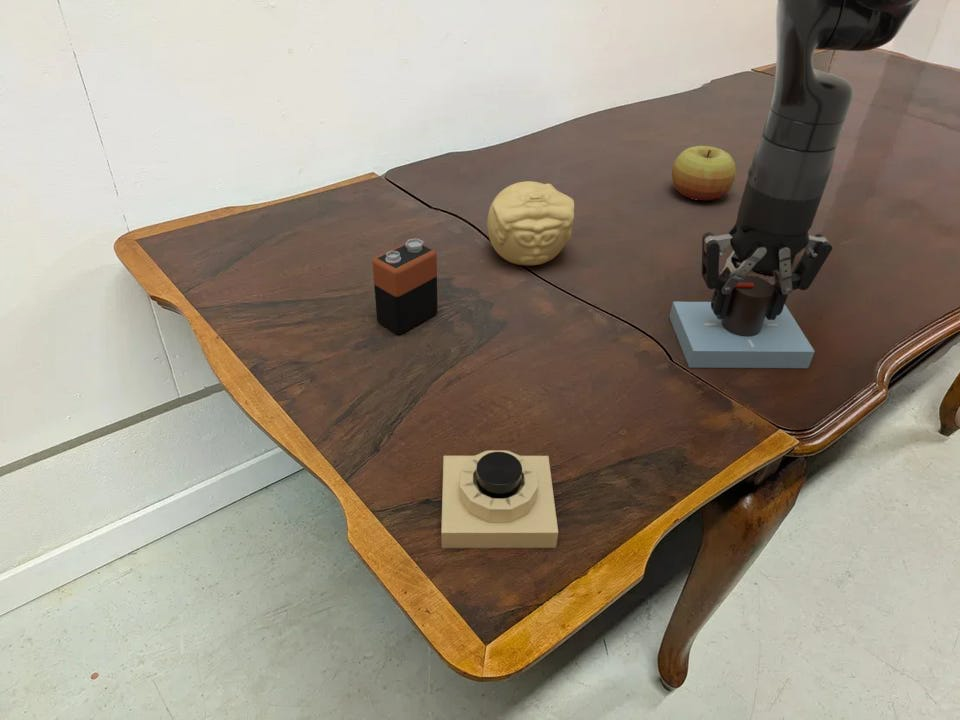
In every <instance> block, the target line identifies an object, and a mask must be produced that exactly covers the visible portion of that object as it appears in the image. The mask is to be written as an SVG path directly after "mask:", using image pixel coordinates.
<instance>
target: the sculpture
mask: <svg viewBox="0 0 960 720" xmlns="http://www.w3.org/2000/svg"><path fill="white" fill-rule="evenodd" d="M491 202H492V203H491V204H490V207H489V209H488V213H487V220H486V223H487V224H486V226H487V235H488V238H489V241H490V244H491V245H492V248H493V249H494V251H495V252H496V253H497V254H498V255H499V256H500V257H501V258H502V259H503V260H505V261H507V262H509V263H511V264H514V265H520V266H530V267H532V266H533V267H534V266H538V265H539V266H540V265H543V264H545V263H548V262H550V261H552V260H553V259H554V258H556V256H558V255H559V254H560V252H561V251H562V250H563V248H564V247H565V246H566V244H567V242H568V241H570V240H571V238H572V233H573V232H572V229H573V227H574V219H575V201H574V199H573V198H572V197H570V196H568V195H567V194H564V193H563V192H561V191H560V190H557V188H555V187H554V186H553V185H552V184H551V183H542V182H538V181H531V180H530V181H519V182H515V183H512V184H510V185H508V186H506V187H505V188H503V189H502V190H501V191H499V193H498V194H497V195H496V196H495V197H494V199H493V200H492V201H491Z"/></svg>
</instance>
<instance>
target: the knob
mask: <svg viewBox="0 0 960 720" xmlns="http://www.w3.org/2000/svg"><path fill="white" fill-rule="evenodd" d="M772 285H773V284H771V283H770V281H768V280H766V279H764V278H762V277H758V276H756V275H747V276H746V278H745V279H744V280H740V281H739V283H738V284H737V285H736V286H735V288H734V289H733V290H732V292H731V293H732V297H731V300H730V304H729V307H728V311H727V314H726V317H725V319H722V320H721V323H722V325H723V327H724V328H725V329H726V330H728V331H729V332H731V333H733V334H736V335H739V336H754V335H757V334H758V333H760V331H761V329H762V326H763V323H764V320H765V317H766V314H767V311H768V308H769V305H770V302H771V299H772V296H773V293H774V287H773V286H772Z"/></svg>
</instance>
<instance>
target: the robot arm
mask: <svg viewBox="0 0 960 720" xmlns="http://www.w3.org/2000/svg"><path fill="white" fill-rule="evenodd" d="M919 2H920V0H777V4H776V13H775V14H776V15H775V16H776V17H775V30H776V31H775V33H776V37H775V38H776V63H775V64H776V65H775V78H774V85H773V87H774V88H773V93H772V97H771V102H770V105H769V110H768V113H767V116H766V120H765V124H764V126H763V127H764V128H763V131H762V134H761V136H760V140H759V142H758V144H757V146H756V149H755V151H754V154H753V157H752V160H751V164H750V166H749V168H748V171H747V178H746V182H745V185H744V190H743V193H742V197H741V201H740V203H739V207H738V211H737V217H736V221H735V224H734V226H732V228H731V229H730V230H729V232H728V233H726V234H719V235H714V233H712V232H710V231H709V232H705V233H704V234H703V235H702V238H701V239H702V241H701V276H702V279H703V281H704V282H705V286H706V287H707V289H709V290H714V291H713V295H712V298H711V301H710V302H711V308H712V310H713V312H714V315H716V317H717V319H725V317H726V314H727V311H728V307H729V304H730V300H731V297H732V293H731V292H732V290H733V289H734V288H735V286H736V285H737V284H738V283H739V281H740V280H744V279H745V278H746V276H749V274H750V273H751V272H752V271H754V270H760V269H765V270H769V271H773V273H774V275H773V280H774V284H771V285H772V286H773V287H774V293H773V296H772V299H771V302H770V305H769V308H768V311H767V314H766V318H767V319H768V320H775V319H776V316H777V315H780V314H781V312H782V310H783V307H784V305H786V302H787V299H788V296H789V294H792V292H793V291H795V290H800V291H806V290H808V289H809V288H810V287H811V285H812V283H813V282H814V281H815V278H816V277H817V275H818V274H819V272H820V270H821V269H822V267H823V265H824V264H825V262H826V260H827V259H828V258H829V256H830V254H831V253H832V250H833V246H832V245H831V244H830V241H829V240H828V239H827V238H826V236H824V235H823V233H817V234H815V235H811V234H809V231H810V230H811V228H812V226H813V224H814V220H815V217H816V215H817V212H818V209H819V206H820V203H821V201H822V197H823V194H824V192H825V189H826V186H827V183H828V181H829V178H830V175H831V172H832V168H833V164H834V161H835V160H834V159H835V154H836V150H837V147H838V143H839V141H840V138H841V135H842V132H843V131H844V130H843V128H844V127H845V123H846V121H847V118H848V114H849V112H850V109H851V105H852V102H853V98H854V89H853V86H852V84H851V83H850V82H849V81H848V80H847V79H845V78H844V77H842V76H839V75H836V74H833V73H829V72H827V71H823V70H820V69H816V68H814V64H813V58H814V53H815V51H816V50H817V51H845V52H866V51H872V50H874V49H875V50H876V49H878V48H880V47H883V46H884V45H886V44H888V43H890V42H891V41H893V40H894V39H895V38H896V37H897V35H898V34H899V33H900V31H901V30H902V28H903V26H904V24H905V23H906V21H907V19H908V18H909V17H910V15H911V14H912V13H913V11H914V9H915V8H916V6H917V5H918V4H919ZM729 246H731V249H732V252H730V254H729V255H728V257H727V258H726V260H725V263H724V264H725V265H724V266H723V267H722V269H721V270H720V257H723V256H724V253H725V252H726V248H728V247H729ZM802 250H803V254H802V255H801V257H800V259H799V260H798V262H797V264H796V266H795V267H794V269H792V267H791V259H792V258H793V257H794V256H795V255H796V256H797V255H798V254H799V253H801V251H802ZM796 256H795V257H796ZM719 271H720V272H719Z"/></svg>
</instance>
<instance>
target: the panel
mask: <svg viewBox="0 0 960 720" xmlns="http://www.w3.org/2000/svg"><path fill="white" fill-rule="evenodd" d="M721 320H722V319H717V317H716V315H714V312H713V310H712V308H711V301H672V305H671V309H670V313H669V321H670V322H671V325H672V328H673V330H674V331H673V332H674V334H675V336H676V338H677V341H678V344H679V346H680V348H681V351H682V353H683V356H684V358H685V361H686V364H687V366H688V368H689V369H702V368H703V369H809V368H810V365H811V363H812V360H813V358H814V354H815V353H816V351H815V349H814V347H813V346H812V345H811V343H810V341H809V340H808V338H807V337H806V335H805V333H804V332H803V330H802V329H801V327H800V326H799V324H798V322H797V321H796V319H795V318H794V316H793V315H792V313H791V311H790V310H789V308H788V307H787V305H786V304H785V305H784V307H783V310H782V312H781V314H780V315H777V316H776V319H775V320H768V319H767V318H766V317H765V320H764V323H763V326H762V329H761V331H760V333H758V334H757V335H754V336H739V335H736V334H733V333H731V332H729V331H728V330H726V329H725V328H724V327H723V325H722V323H721Z"/></svg>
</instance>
